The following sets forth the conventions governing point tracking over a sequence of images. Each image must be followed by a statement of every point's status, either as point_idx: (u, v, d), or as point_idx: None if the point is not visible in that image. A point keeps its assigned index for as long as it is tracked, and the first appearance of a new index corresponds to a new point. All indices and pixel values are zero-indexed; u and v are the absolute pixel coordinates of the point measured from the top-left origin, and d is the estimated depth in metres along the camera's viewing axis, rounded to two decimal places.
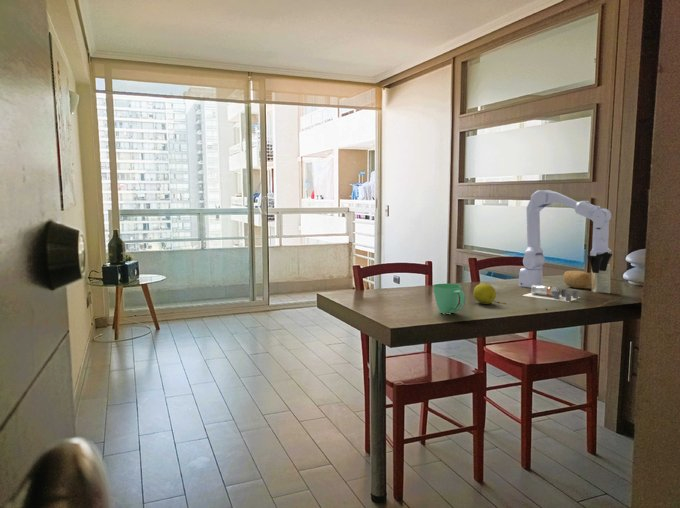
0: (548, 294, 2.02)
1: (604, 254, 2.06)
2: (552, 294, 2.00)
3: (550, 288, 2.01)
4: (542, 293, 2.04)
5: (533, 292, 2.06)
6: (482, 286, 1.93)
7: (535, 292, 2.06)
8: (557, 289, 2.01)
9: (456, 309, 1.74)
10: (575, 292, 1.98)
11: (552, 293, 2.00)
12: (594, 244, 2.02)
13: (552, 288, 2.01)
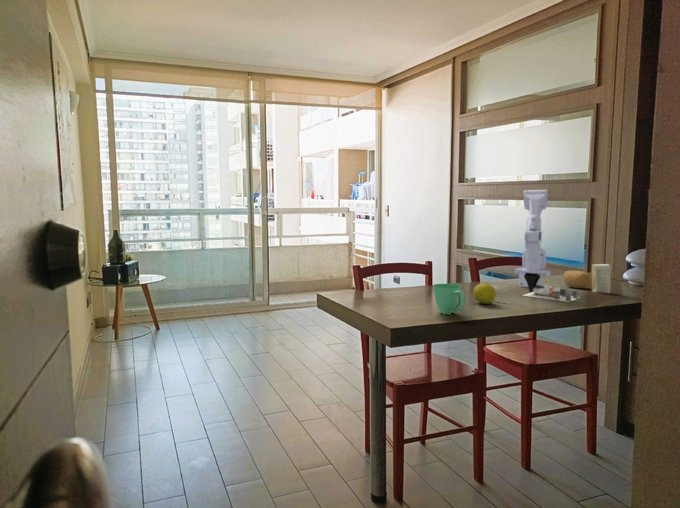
0: (551, 294, 2.01)
1: None
2: None
3: (553, 288, 2.00)
4: (545, 293, 2.03)
5: (536, 292, 2.06)
6: (482, 286, 1.93)
7: (538, 292, 2.05)
8: (560, 289, 2.00)
9: (456, 309, 1.74)
10: (575, 292, 1.98)
11: None
12: None
13: (555, 288, 2.00)
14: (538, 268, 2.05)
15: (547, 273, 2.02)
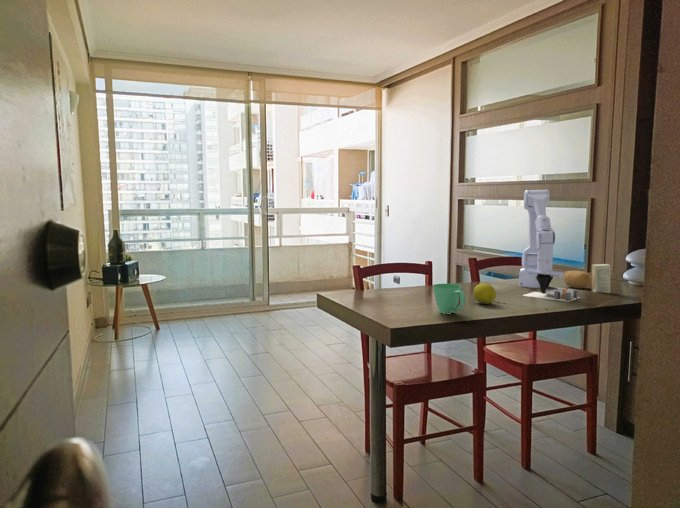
0: (564, 296, 1.97)
1: None
2: None
3: (566, 290, 1.97)
4: None
5: (548, 294, 2.02)
6: (482, 286, 1.93)
7: (550, 294, 2.01)
8: (573, 291, 1.96)
9: (456, 309, 1.74)
10: (575, 292, 1.98)
11: None
12: None
13: (568, 290, 1.96)
14: (551, 269, 2.01)
15: (560, 274, 1.98)
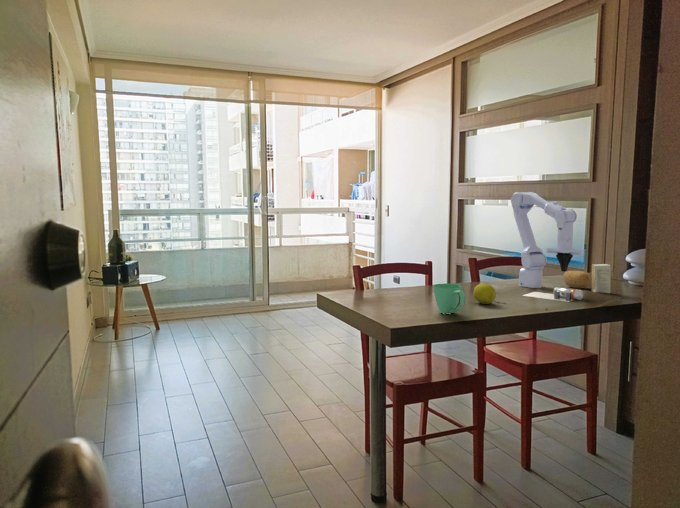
0: (571, 296, 1.95)
1: None
2: (576, 296, 1.94)
3: (574, 290, 1.95)
4: (565, 295, 1.97)
5: None
6: (482, 286, 1.93)
7: None
8: (581, 292, 1.95)
9: (456, 309, 1.74)
10: None
11: (576, 295, 1.94)
12: None
13: (576, 290, 1.95)
14: (571, 247, 2.06)
15: (580, 252, 2.02)
